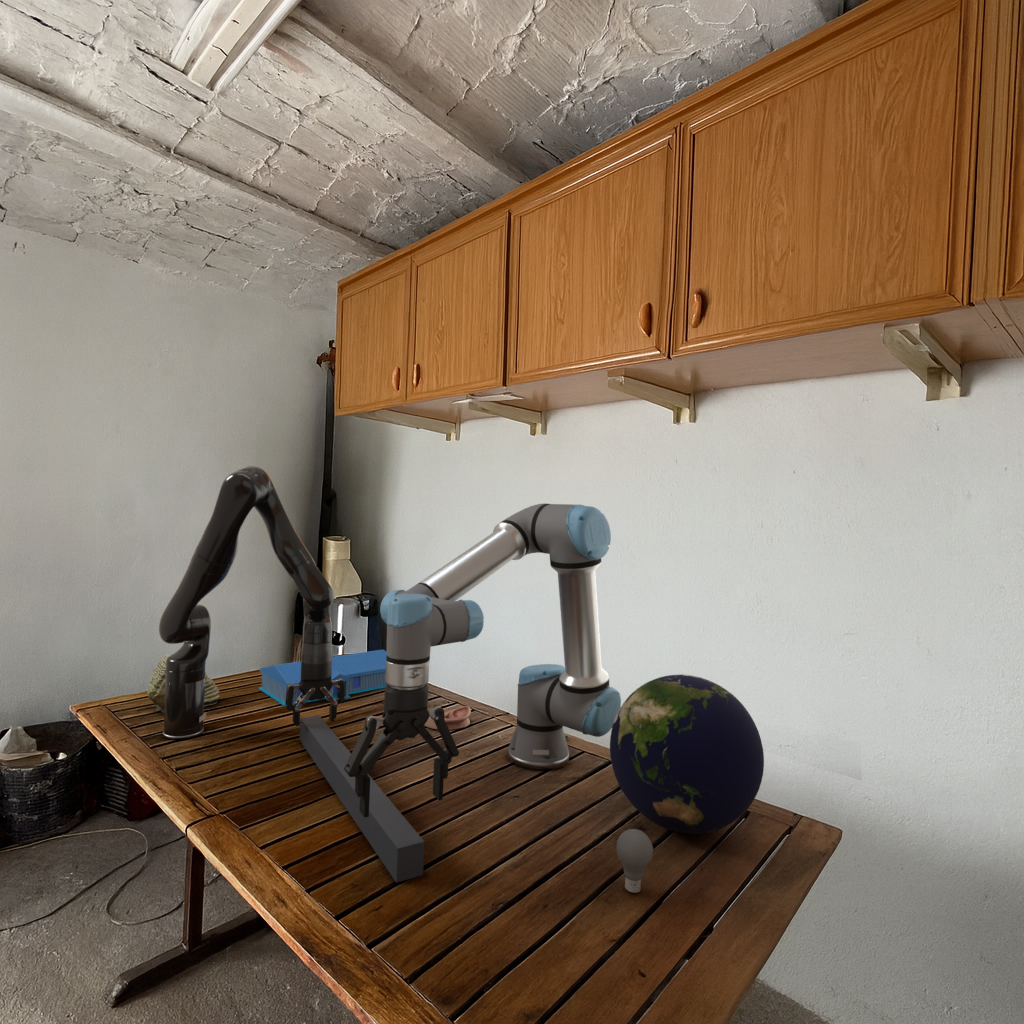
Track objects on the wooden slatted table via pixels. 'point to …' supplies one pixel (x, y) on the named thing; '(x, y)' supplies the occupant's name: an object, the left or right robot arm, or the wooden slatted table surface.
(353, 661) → the model building
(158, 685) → the fossil
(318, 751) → the bar
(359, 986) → the wooden slatted table surface
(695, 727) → the globe
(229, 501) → the left robot arm
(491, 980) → the wooden slatted table surface
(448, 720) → the anatomical model
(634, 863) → the light bulb
